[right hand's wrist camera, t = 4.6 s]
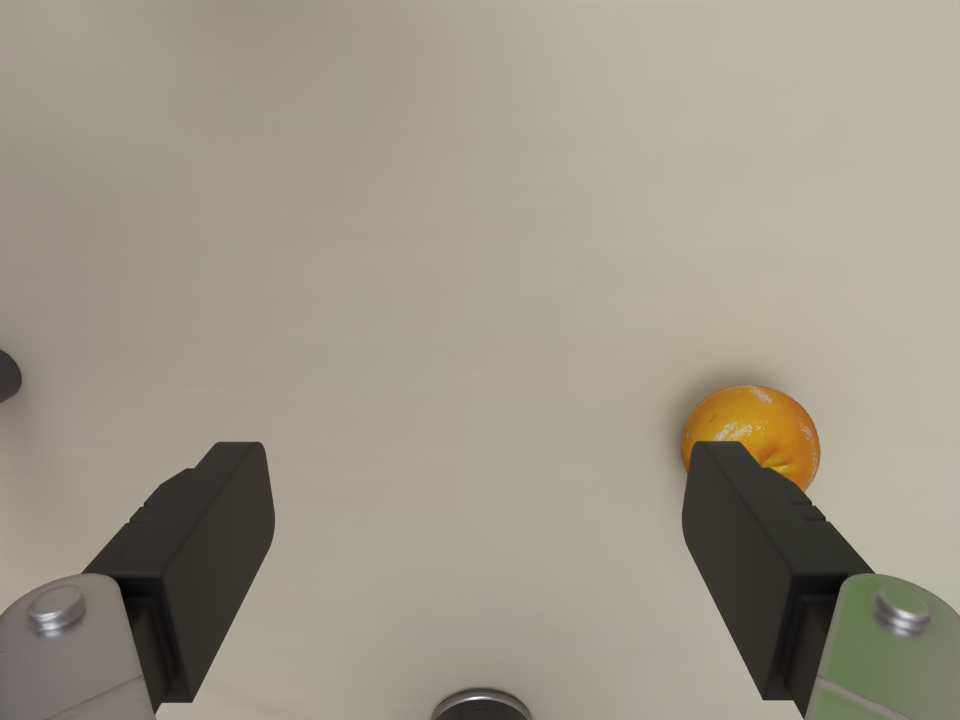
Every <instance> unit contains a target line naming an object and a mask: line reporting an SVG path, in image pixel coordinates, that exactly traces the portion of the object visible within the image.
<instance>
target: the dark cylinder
mask: <svg viewBox="0 0 960 720" xmlns="http://www.w3.org/2000/svg"><path fill="white" fill-rule="evenodd" d="M20 384H21V375H20V371H19V369H18V367H17V365H16V364H15V362H14V361H13V360H12V359H11V358H10V357H9V356H8V355H7V354H6V353H4V352H3V351H1V350H0V403H1V402H3V401H5V400H6V399H8V398H10V397H11V396H13V395H14V394H15V393H16V392H17V391H18V389H19V387H20Z"/></svg>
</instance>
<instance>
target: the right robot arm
mask: <svg viewBox="0 0 960 720" xmlns="http://www.w3.org/2000/svg"><path fill="white" fill-rule="evenodd" d="M274 527H275V512H274V505H273V498H272V492H271V485H270V478H269V472H268V465H267V458H266V453H265V449H264V447H263V445H262V444H261V443H260V442H217V443H216V444H215V445H214V446H213V447H212V448H211V449H210V450H209V452H208V453H207V454H206V455H205V456H204V458H203V459H202V460H201V461H200V462H199V464H198V465H197V466H196V467H195V468H194V469H185V470H183V471H181V472H180V473H178V474H177V475H175V476H173V477H172V478H170V479H169V480H167V481H165V482H164V483H162V484H161V485H160V486H159V487H158V488H157V489H156V490H155V491H154V492H153V494H152V495H151V496H150V497H149V498H148V499H147V500H146V501H145V502H144V507H140V508H139V509H138V510H137V511H136V513H135V514H134V515H133V516H132V517H131V518H130V522H129V523H126V524H125V525H124V526H123V527H122V528H121V529H120V530H119V532H118V533H117V534H116V535H115V536H114V537H113V538H112V539H111V540H110V542H109V543H108V544H107V545H106V546H105V547H104V548H103V549H102V551H101V552H100V553H99V554H98V555H97V556H96V557H95V558H94V559H93V561H92V562H91V563H90V564H89V565H88V566H87V567H86V568H85V570H84V571H83V572H82V573H81V574H78V575H72V576H68V577H64V578H61V579H58V580H54V581H52V582H49V583H47V584H44V585H42V586H40V587H38V588H36V589H34V590H32V591H31V592H29V593H27V594H26V595H24V596H22V597H21V598H20V599H18V600H17V601H15V602H14V603H13V604H12V605H11V606H9V607H8V608H7V609H6V610H5V611H4V612H3V613H2V615H1V616H0V720H156V718H155V714H156V712H157V710H158V708H159V707H160V705H161V703H192V702H193V700H194V698H195V696H196V694H197V692H198V690H199V688H200V686H201V684H202V682H203V680H204V678H205V676H206V674H207V672H208V670H209V668H210V666H211V664H212V662H213V660H214V658H215V656H216V654H217V652H218V650H219V648H220V646H221V644H222V642H223V640H224V638H225V636H226V634H227V632H228V630H229V628H230V626H231V624H232V622H233V620H234V618H235V616H236V614H237V612H238V610H239V608H240V606H241V604H242V602H243V600H244V598H245V596H246V594H247V592H248V590H249V588H250V586H251V584H252V582H253V580H254V578H255V576H256V574H257V572H258V570H259V568H260V566H261V564H262V562H263V560H264V558H265V556H266V554H267V552H268V550H269V548H270V546H271V543H272V539H273V534H274ZM682 527H683V534H684V538H685V542H686V545H687V547H688V549H689V551H690V553H691V555H692V557H693V559H694V561H695V563H696V565H697V567H698V569H699V571H700V573H701V575H702V577H703V579H704V581H705V583H706V586H707V588H708V590H709V592H710V594H711V596H712V598H713V600H714V602H715V604H716V606H717V608H718V610H719V612H720V614H721V616H722V618H723V620H724V622H725V624H726V626H727V628H728V630H729V632H730V634H731V636H732V638H733V640H734V642H735V644H736V646H737V648H738V650H739V652H740V654H741V656H742V658H743V660H744V662H745V664H746V666H747V668H748V670H749V673H750V675H751V677H752V679H753V681H754V683H755V685H756V687H757V689H758V691H759V693H760V695H761V697H762V699H763V700H793V701H794V702H795V704H796V706H797V708H798V710H799V712H800V713H801V715H802V717H803V719H804V720H960V616H959V615H958V613H957V612H956V611H955V610H954V609H953V608H952V607H951V606H949V605H948V604H947V603H946V602H945V601H943V600H942V599H940V598H939V597H938V596H936V595H934V594H933V593H931V592H929V591H928V590H926V589H924V588H922V587H920V586H918V585H916V584H913V583H911V582H908V581H906V580H902V579H899V578H896V577H892V576H888V575H882V574H875V572H874V571H873V570H872V569H871V568H870V567H869V566H868V565H867V563H866V562H865V561H864V560H863V559H862V558H861V557H860V556H859V554H858V553H857V552H856V551H855V550H854V549H853V548H852V546H851V545H850V544H849V543H848V542H847V541H846V540H845V539H844V537H843V536H842V535H841V534H840V533H839V532H838V531H837V530H836V528H835V527H834V526H833V525H832V524H831V523H830V522H826V517H825V516H824V515H823V514H822V513H821V512H820V510H819V509H818V508H817V507H816V506H812V501H811V500H810V499H809V498H808V497H807V496H806V495H805V493H804V492H803V491H802V490H801V489H800V488H799V487H798V486H797V484H796V483H794V482H793V481H791V480H789V479H788V478H786V477H785V476H783V475H781V474H780V473H778V472H777V471H775V470H773V469H772V468H770V467H761V466H760V465H759V463H758V462H757V461H756V460H755V459H754V457H753V456H752V455H751V454H750V453H749V451H748V450H747V449H746V448H745V447H744V445H743V444H742V443H741V442H739V441H696V442H695V443H694V445H693V447H692V450H691V456H690V462H689V469H688V476H687V483H686V490H685V496H684V503H683V510H682ZM431 720H532V718H531V715H530V713H529V711H528V710H527V708H526V707H525V706H524V705H523V704H522V703H521V702H520V701H518V700H517V699H515V698H514V697H512V696H510V695H508V694H505V693H502V692H499V691H494V690H485V689H478V690H469V691H464V692H461V693H458V694H455V695H453V696H451V697H449V698H448V699H446V700H445V701H443V702H442V703H441V704H440V705H439V706H438V707H437V708H436V710H435V711H434V713H433V715H432V718H431Z"/></svg>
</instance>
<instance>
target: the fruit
mask: <svg viewBox="0 0 960 720" xmlns="http://www.w3.org/2000/svg"><path fill="white" fill-rule="evenodd" d="M696 441H739V442H741V443H742V444H743V445H744V447H745V448H746V449H747V450H748V451H749V453H750V454H751V455H752V456H753V457H754V459H755V460H756V461H757V462H758V463H759V465H760V466H761V467H770V468H772V469H773V470H775V471H777V472H778V473H780V474H781V475H783V476H785V477H786V478H788V479H789V480H791V481H793V482H794V483H796V484H797V486H798V487H799V488H800V489H801V490H802V491H803V492H805V490H806V489H807V488H808V487H809V485H810V484H811V483H812V481H813V479H814V477H815V475H816V473H817V470H818V466H819V461H820V445H819V439H818V435H817V431H816V428H815V425H814V423H813V421H812V419H811V418H810V416H809V415H808V413H807V412H806V410H805V409H804V408H803V407H802V406H801V405H800V404H799V403H798V402H796V401H795V400H793V399H792V398H791V397H789V396H787V395H786V394H783V393H781V392H779V391H776V390H773V389H770V388H767V387H761V386H757V385H740V386H735V387H730V388H726V389H722V390H719V391H717V392H715V393H713V394H711V395H710V396H708V397H707V398H705V399H704V400H703V401H702V402H701V403H700V404H699V405H698V406H697V407H696V408H695V409H694V410H693V411H692V413H691V415H690V416H689V418H688V420H687V422H686V425H685V429H684V433H683V436H682V441H681V454H682V459H683V462H684V465H685V468H686V471H687V473H688V469H689V462H690V456H691V450H692V447H693V445H694V443H695V442H696Z"/></svg>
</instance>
